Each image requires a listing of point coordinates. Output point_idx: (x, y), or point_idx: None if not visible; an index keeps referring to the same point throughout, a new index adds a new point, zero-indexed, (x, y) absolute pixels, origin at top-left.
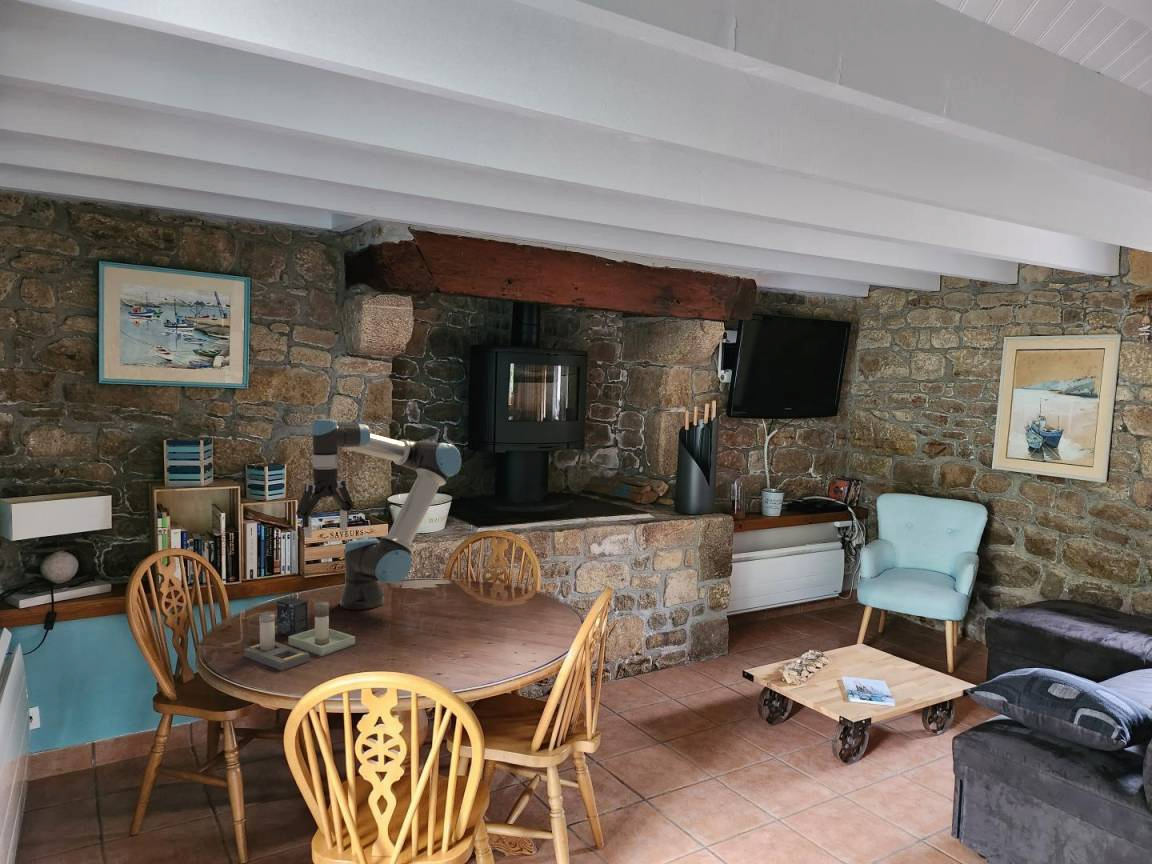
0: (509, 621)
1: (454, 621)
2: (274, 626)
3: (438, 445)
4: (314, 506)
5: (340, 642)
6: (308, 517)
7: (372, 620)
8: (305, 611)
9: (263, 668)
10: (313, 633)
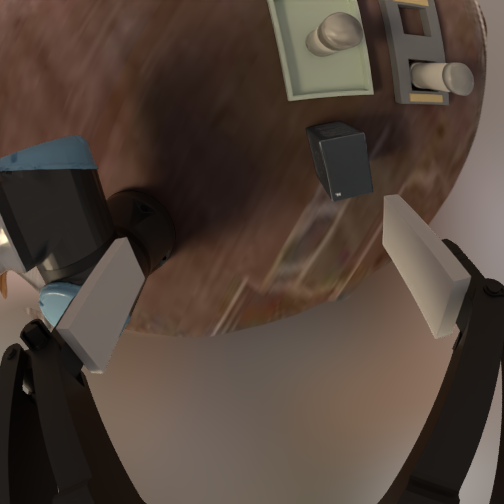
0: (5, 5)
1: (51, 32)
2: (437, 66)
3: None
4: (458, 377)
5: None
6: (465, 284)
7: (159, 115)
8: (321, 134)
9: (442, 32)
10: (313, 93)
